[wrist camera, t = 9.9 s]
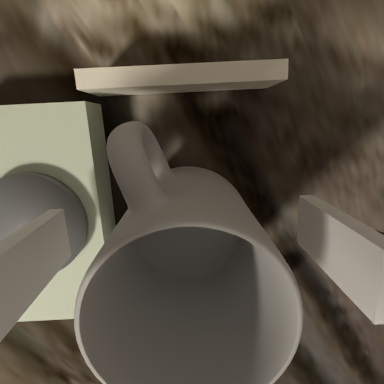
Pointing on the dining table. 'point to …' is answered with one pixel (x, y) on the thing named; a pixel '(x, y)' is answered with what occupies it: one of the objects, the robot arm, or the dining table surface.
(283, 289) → the mug
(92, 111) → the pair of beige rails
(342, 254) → the robot arm
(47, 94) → the dining table surface
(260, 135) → the dining table surface
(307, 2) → the dining table surface
